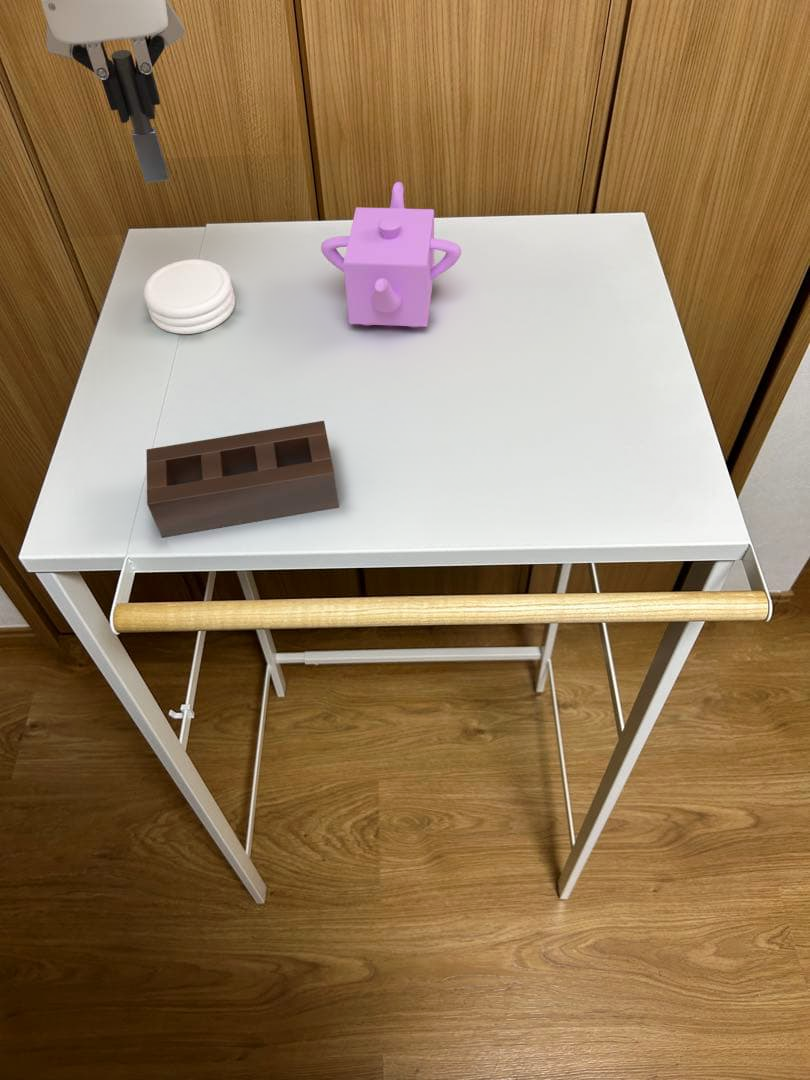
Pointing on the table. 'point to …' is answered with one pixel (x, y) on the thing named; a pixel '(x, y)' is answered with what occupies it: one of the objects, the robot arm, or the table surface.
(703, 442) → the table surface
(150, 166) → the grey handled tool
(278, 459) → the utensil block
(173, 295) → the white round stack
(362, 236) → the teapot
